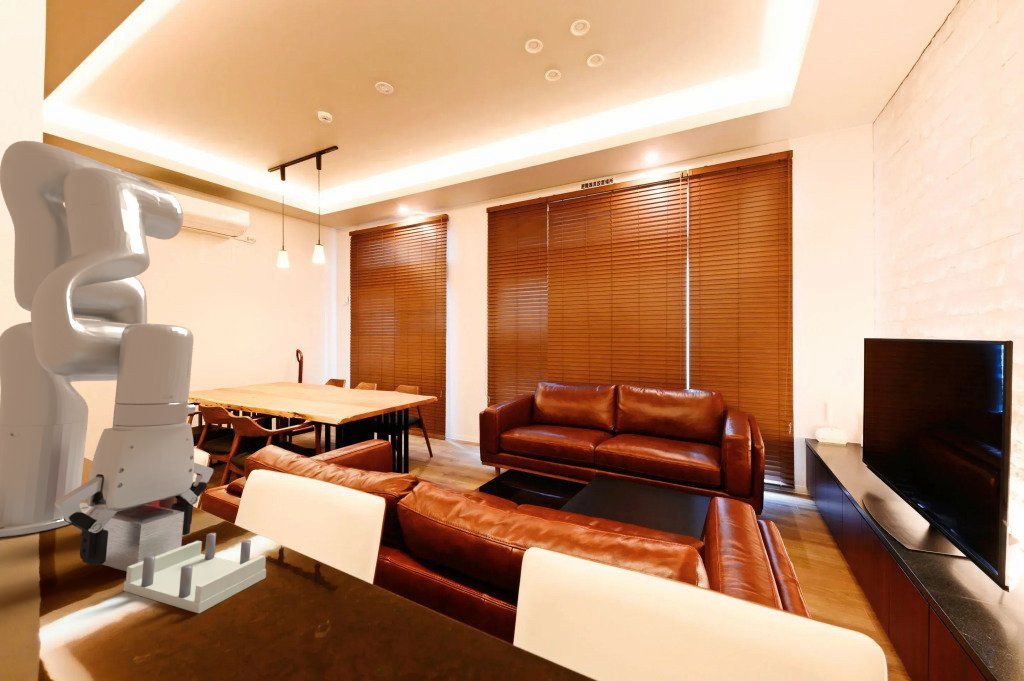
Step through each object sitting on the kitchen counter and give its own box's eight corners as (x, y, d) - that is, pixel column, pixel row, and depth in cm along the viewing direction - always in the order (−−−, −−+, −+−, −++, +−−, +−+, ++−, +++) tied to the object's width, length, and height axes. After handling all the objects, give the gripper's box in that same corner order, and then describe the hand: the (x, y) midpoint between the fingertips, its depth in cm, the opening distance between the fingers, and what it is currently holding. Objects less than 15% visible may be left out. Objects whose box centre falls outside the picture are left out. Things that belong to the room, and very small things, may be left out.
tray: (123, 590, 47) (126, 554, 47) (196, 560, 55) (198, 529, 55) (198, 613, 43) (202, 574, 44) (265, 577, 51) (268, 544, 51)
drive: (95, 563, 53) (100, 513, 54) (140, 547, 58) (144, 502, 58) (136, 574, 51) (141, 523, 51) (180, 557, 55) (184, 510, 56)
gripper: (198, 408, 65) (188, 520, 64) (46, 421, 49) (30, 571, 47) (233, 411, 63) (224, 527, 61) (87, 425, 46) (71, 584, 45)
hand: (140, 546), depth 54 cm, fingers open, 9 cm apart
